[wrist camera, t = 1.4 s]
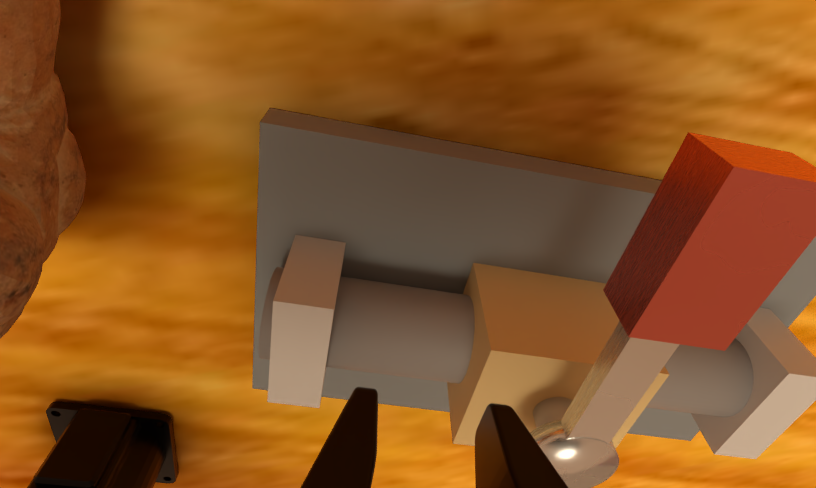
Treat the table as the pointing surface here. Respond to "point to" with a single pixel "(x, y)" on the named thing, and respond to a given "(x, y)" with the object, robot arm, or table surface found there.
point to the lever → (686, 283)
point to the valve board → (450, 227)
